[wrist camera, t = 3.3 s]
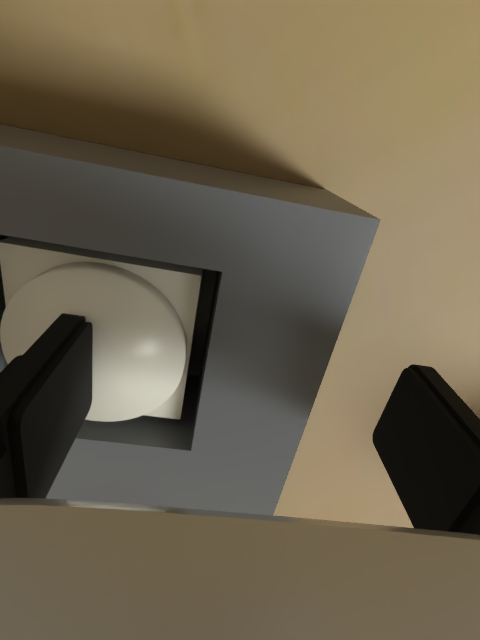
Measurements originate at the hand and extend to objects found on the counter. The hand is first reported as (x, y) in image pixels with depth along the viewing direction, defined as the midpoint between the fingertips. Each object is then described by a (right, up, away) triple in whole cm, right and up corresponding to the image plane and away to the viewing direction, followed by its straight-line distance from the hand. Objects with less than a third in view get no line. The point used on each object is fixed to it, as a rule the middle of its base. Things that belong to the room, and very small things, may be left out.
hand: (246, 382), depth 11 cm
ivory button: (-4, +2, +2) cm, 5 cm away
